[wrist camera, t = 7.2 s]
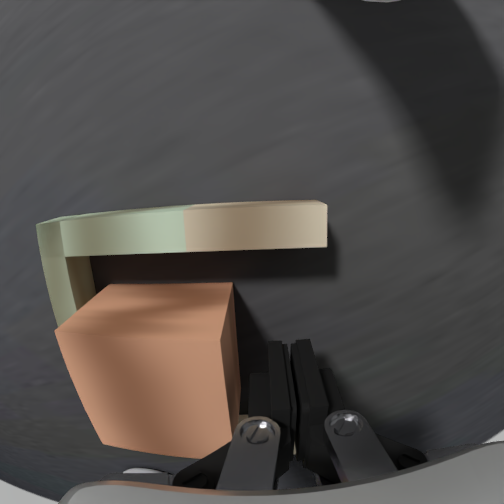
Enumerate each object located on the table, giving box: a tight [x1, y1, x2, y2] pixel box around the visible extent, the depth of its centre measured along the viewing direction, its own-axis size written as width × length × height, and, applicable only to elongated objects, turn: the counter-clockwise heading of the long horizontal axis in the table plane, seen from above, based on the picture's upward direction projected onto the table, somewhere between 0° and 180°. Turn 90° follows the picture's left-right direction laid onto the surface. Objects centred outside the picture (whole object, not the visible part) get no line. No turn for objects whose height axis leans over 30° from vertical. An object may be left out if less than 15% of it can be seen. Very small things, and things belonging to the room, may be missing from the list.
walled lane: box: [36, 200, 327, 454], centre depth 13 cm, size 12×13×2 cm
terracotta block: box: [55, 282, 241, 459], centre depth 12 cm, size 6×6×5 cm
